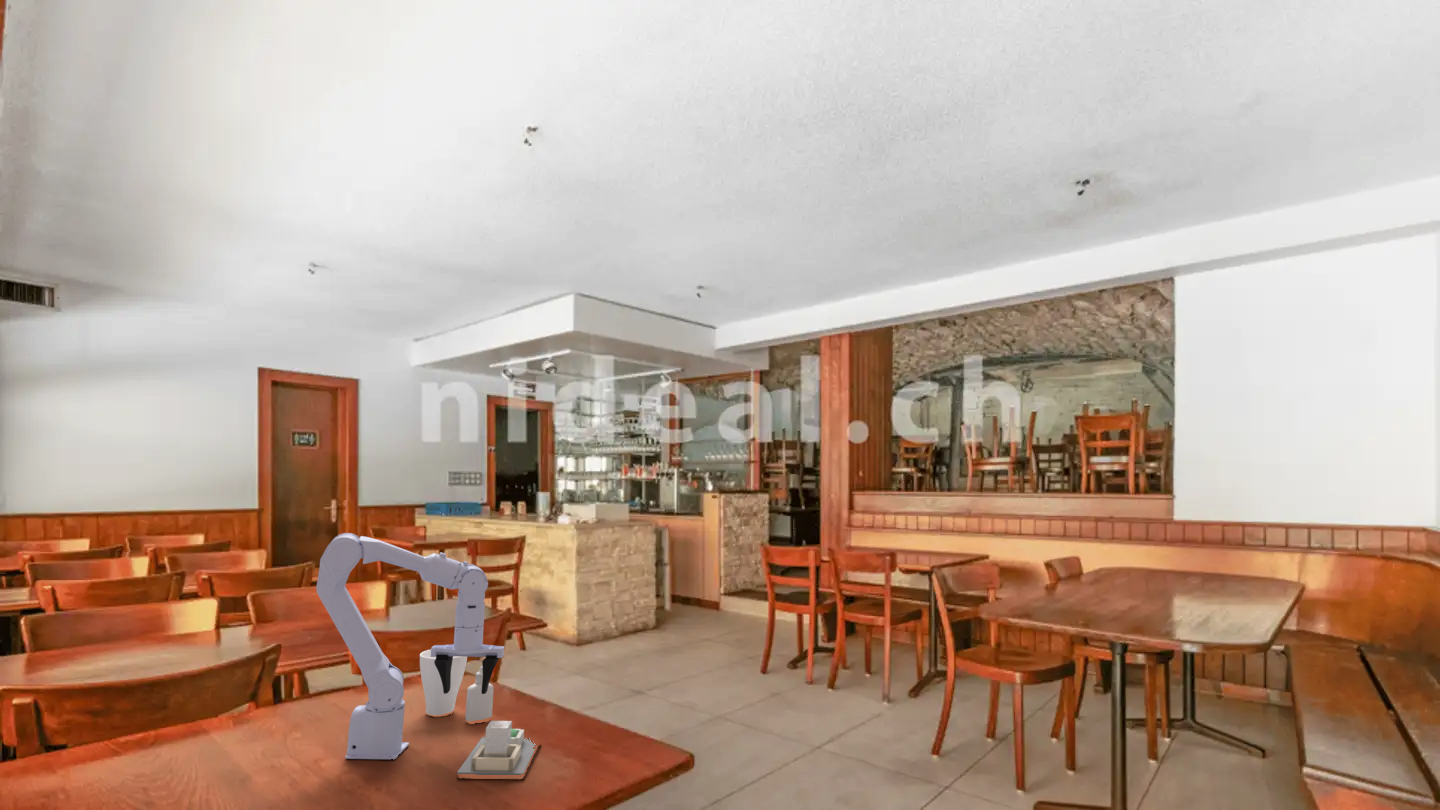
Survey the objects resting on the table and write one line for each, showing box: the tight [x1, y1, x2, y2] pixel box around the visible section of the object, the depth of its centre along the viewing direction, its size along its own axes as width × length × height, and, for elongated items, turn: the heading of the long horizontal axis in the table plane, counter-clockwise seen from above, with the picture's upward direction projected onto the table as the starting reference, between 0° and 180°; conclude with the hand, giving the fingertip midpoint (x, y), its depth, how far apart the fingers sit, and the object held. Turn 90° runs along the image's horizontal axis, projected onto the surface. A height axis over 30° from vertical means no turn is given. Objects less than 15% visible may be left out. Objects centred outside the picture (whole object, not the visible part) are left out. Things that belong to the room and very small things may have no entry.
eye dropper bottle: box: [464, 665, 494, 721], centre depth 168 cm, size 4×6×12 cm
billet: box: [484, 720, 513, 758], centre depth 142 cm, size 4×4×7 cm
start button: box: [511, 728, 516, 737], centre depth 151 cm, size 3×3×2 cm
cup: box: [419, 649, 468, 715], centre depth 172 cm, size 10×10×14 cm
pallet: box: [456, 728, 537, 775], centre depth 146 cm, size 12×18×3 cm, turn 3°
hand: (465, 692), depth 154 cm, fingers open, 7 cm apart
